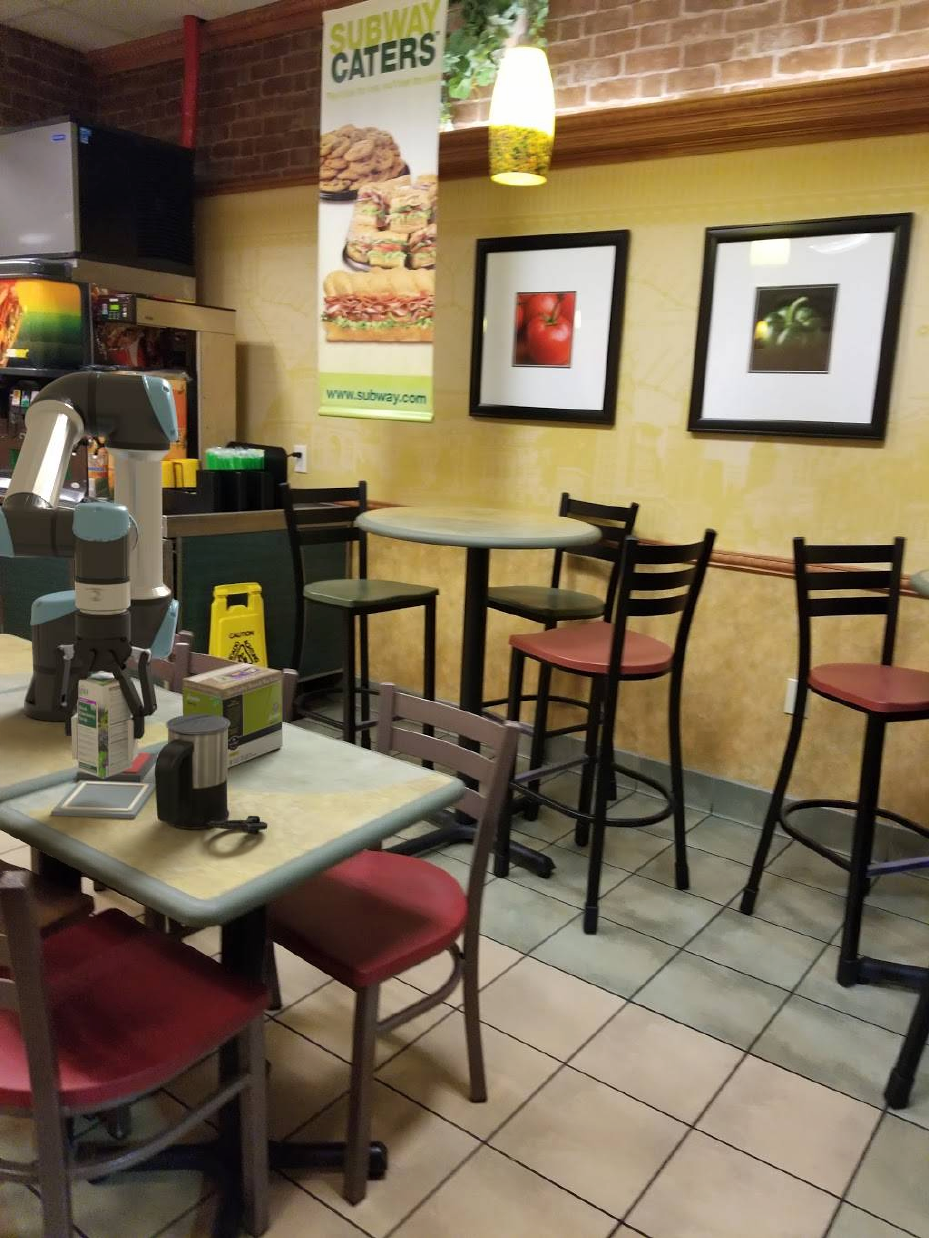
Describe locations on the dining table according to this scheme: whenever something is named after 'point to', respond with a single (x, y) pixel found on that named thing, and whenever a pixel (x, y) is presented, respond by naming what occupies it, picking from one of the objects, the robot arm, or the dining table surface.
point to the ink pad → (131, 775)
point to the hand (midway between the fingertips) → (105, 757)
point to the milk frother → (197, 776)
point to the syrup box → (102, 726)
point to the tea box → (240, 706)
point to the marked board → (105, 799)
